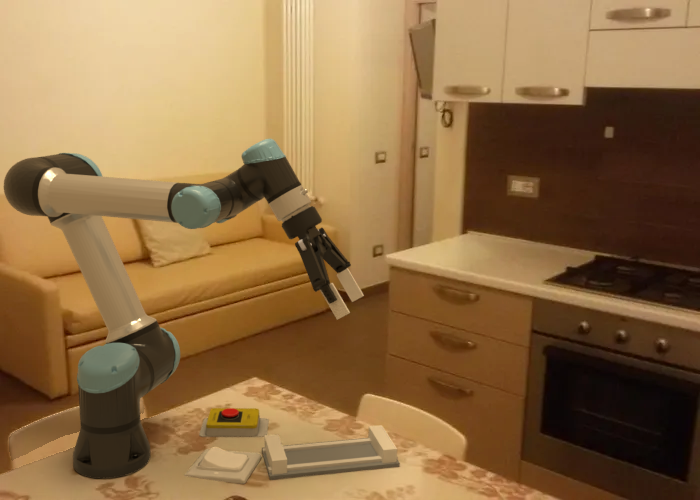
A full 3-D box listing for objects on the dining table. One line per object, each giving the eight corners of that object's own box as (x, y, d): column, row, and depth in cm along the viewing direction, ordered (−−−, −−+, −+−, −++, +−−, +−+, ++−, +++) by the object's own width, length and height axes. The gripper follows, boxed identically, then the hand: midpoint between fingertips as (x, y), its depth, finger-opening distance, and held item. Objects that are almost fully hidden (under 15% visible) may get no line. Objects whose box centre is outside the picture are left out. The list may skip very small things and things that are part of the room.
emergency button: (204, 402, 172) (269, 403, 173) (204, 420, 173) (269, 420, 174) (198, 420, 163) (266, 421, 164) (198, 438, 164) (266, 439, 165)
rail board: (269, 479, 147) (270, 462, 146) (261, 450, 159) (261, 434, 158) (399, 466, 154) (400, 449, 153) (382, 439, 165) (383, 423, 165)
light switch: (203, 438, 158) (261, 442, 155) (204, 456, 159) (262, 460, 156) (182, 463, 147) (243, 467, 145) (183, 482, 148) (244, 487, 146)
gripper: (294, 212, 132) (354, 314, 133) (327, 197, 156) (378, 284, 157) (260, 232, 134) (319, 333, 135) (298, 214, 158) (348, 300, 159)
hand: (351, 307), depth 146 cm, fingers open, 13 cm apart
